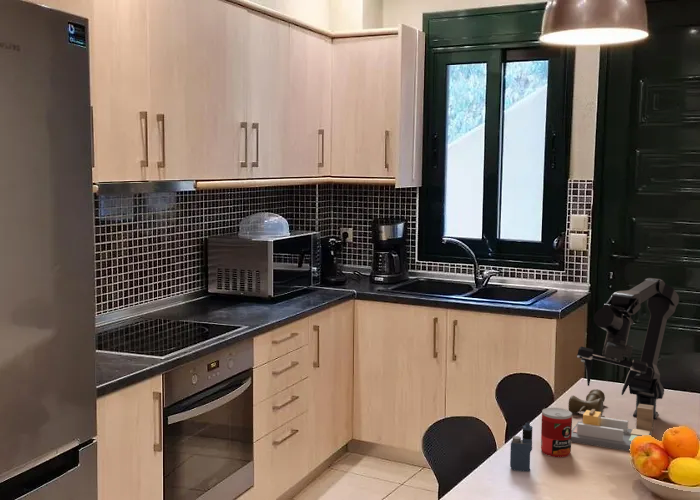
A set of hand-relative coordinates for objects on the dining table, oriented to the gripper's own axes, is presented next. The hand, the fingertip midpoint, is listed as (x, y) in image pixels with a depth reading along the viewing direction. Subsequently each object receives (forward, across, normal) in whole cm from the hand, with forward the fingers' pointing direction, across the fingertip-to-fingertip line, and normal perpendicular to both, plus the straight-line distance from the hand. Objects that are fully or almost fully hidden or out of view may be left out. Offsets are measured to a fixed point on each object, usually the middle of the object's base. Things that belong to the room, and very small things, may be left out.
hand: (605, 390), depth 223 cm
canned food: (+20, -9, -12) cm, 25 cm away
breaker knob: (+12, -1, +2) cm, 12 cm away
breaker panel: (+13, +4, +2) cm, 13 cm away
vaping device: (+26, -16, -25) cm, 40 cm away
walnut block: (+7, +13, +12) cm, 19 cm away
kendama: (+6, -2, +25) cm, 26 cm away
